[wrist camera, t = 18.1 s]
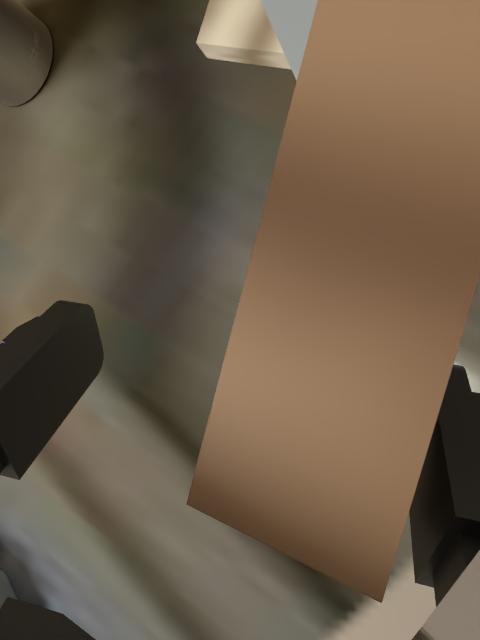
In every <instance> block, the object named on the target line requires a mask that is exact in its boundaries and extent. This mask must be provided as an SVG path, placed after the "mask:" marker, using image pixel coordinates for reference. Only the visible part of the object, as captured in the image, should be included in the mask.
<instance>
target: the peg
mask: <svg viewBox="0 0 480 640" xmlns="http://www.w3.org/2000/svg"><path fill="white" fill-rule="evenodd" d="M479 277H480V0H318V2H317V5H316V9H315V13H314V17H313V21H312V25H311V28H310V32H309V36H308V40H307V44H306V48H305V51H304V55H303V59H302V63H301V67H300V71H299V74H298V78H297V82H296V86H295V90H294V94H293V97H292V101H291V105H290V109H289V113H288V117H287V120H286V124H285V128H284V132H283V136H282V140H281V143H280V147H279V151H278V155H277V159H276V163H275V166H274V170H273V174H272V178H271V182H270V186H269V189H268V193H267V197H266V201H265V205H264V209H263V212H262V216H261V220H260V224H259V228H258V232H257V235H256V239H255V243H254V247H253V251H252V255H251V259H250V262H249V266H248V270H247V274H246V278H245V282H244V285H243V289H242V293H241V297H240V301H239V305H238V308H237V312H236V316H235V320H234V324H233V328H232V331H231V335H230V339H229V343H228V347H227V351H226V354H225V358H224V362H223V366H222V370H221V374H220V377H219V381H218V385H217V389H216V393H215V397H214V400H213V404H212V408H211V412H210V416H209V420H208V423H207V427H206V431H205V435H204V439H203V443H202V446H201V450H200V454H199V458H198V462H197V466H196V469H195V473H194V477H193V481H192V485H191V489H190V492H189V496H188V500H187V505H189V506H191V507H193V508H195V509H197V510H199V511H201V512H203V513H205V514H207V515H209V516H210V517H212V518H214V519H216V520H218V521H220V522H222V523H224V524H226V525H228V526H230V527H232V528H234V529H236V530H238V531H240V532H242V533H244V534H246V535H248V536H250V537H252V538H254V539H256V540H258V541H260V542H262V543H264V544H266V545H268V546H270V547H272V548H274V549H276V550H278V551H280V552H282V553H284V554H286V555H288V556H290V557H291V558H293V559H295V560H297V561H299V562H301V563H303V564H305V565H307V566H309V567H311V568H313V569H315V570H317V571H319V572H321V573H323V574H325V575H327V576H329V577H331V578H333V579H335V580H337V581H339V582H341V583H343V584H345V585H347V586H349V587H351V588H353V589H355V590H357V591H359V592H361V593H363V594H365V595H367V596H369V597H371V598H373V599H374V600H376V601H378V602H381V603H382V600H383V596H384V593H385V590H386V586H387V583H388V580H389V577H390V573H391V570H392V567H393V563H394V560H395V557H396V553H397V550H398V547H399V543H400V540H401V537H402V533H403V530H404V527H405V523H406V520H407V517H408V513H409V510H410V507H411V503H412V500H413V497H414V493H415V490H416V487H417V483H418V480H419V477H420V473H421V470H422V467H423V464H424V460H425V457H426V454H427V450H428V447H429V444H430V440H431V437H432V434H433V430H434V427H435V424H436V420H437V417H438V414H439V410H440V407H441V404H442V400H443V397H444V394H445V390H446V387H447V384H448V380H449V377H450V374H451V370H452V367H453V364H454V360H455V357H456V354H457V351H458V347H459V344H460V341H461V337H462V334H463V331H464V327H465V324H466V321H467V317H468V314H469V311H470V307H471V304H472V301H473V297H474V294H475V291H476V287H477V284H478V281H479Z"/></svg>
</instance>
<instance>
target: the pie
mask: <svg viewBox="0 0 480 640" xmlns="http://www.w3.org/2000/svg"><path fill="white" fill-rule="evenodd" d="M7 597H11V598H14V599H17V598H16V596H15V593H14V591H13V589H12V587H11V584H10V582H9V580H8V578H7V575H6V573H5V572H4V571H3V570H1V569H0V608H1V606H2V605H3V603H4V602H5V600H6V598H7Z"/></svg>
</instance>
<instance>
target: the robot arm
mask: <svg viewBox="0 0 480 640" xmlns="http://www.w3.org/2000/svg"><path fill="white" fill-rule="evenodd" d="M52 54H53V45H52V38H51V35H50V32H49V30H48V28H47V27H46V25H45V24H44V23H43V22H42V21H41V20H39V19H38V18H37V17H36V16H35V15H34V14H32V13H31V12H30V11H29V10H28V9H27V8H25V7H24V6H23V5H22V4H21V3H20V2H18V1H17V0H0V103H1V104H3V105H6V106H18V105H21V104H23V103H25V102H26V101H28V100H30V99H31V98H32V97H33V96H34V95H35V94H36V93H37V92H38V90H39V89H40V88H41V86H42V85H43V83H44V81H45V79H46V77H47V75H48V72H49V69H50V66H51V61H52ZM103 356H104V354H103V347H102V343H101V339H100V335H99V331H98V326H97V322H96V318H95V314H94V310H93V308H92V307H91V306H90V305H88V304H81V303H75V302H69V301H63V300H60V301H57V302H55V303H54V304H53V305H52V306H51V307H50V308H49V309H48V310H47V311H46V312H44V313H43V314H42V315H41V316H40V317H38V316H37V317H35V318H34V319H32V320H30V321H28V322H26V323H24V324H22V325H20V326H18V327H17V328H16V329H14V330H13V331H12V332H11V333H10V334H9V335H8V336H7V337H6V338H4V339H3V340H2V343H1V344H0V475H2V476H6V477H10V478H14V479H18V480H20V479H21V477H22V476H23V475H24V473H25V472H26V471H27V469H28V468H29V467H30V465H31V464H32V462H33V461H34V460H35V458H36V457H37V456H38V454H39V453H40V452H41V450H42V449H43V448H44V446H45V445H46V444H47V442H48V441H49V440H50V438H51V437H52V436H53V434H54V433H55V431H56V430H57V429H58V427H59V426H60V425H61V423H62V422H63V421H64V419H65V418H66V417H67V415H68V414H69V413H70V411H71V410H72V409H73V407H74V406H75V405H76V403H77V402H78V400H79V399H80V398H81V396H82V395H83V394H84V392H85V391H86V390H87V388H88V387H89V386H90V384H91V383H92V382H93V380H94V379H95V378H96V376H97V375H98V373H99V371H100V369H101V367H102V363H103ZM409 513H410V525H411V538H412V550H413V562H414V575H415V583H418V584H422V585H426V586H430V587H434V591H435V600H436V609H435V610H434V611H433V613H432V614H431V615H430V617H429V618H428V620H427V621H426V622H425V623H424V625H423V626H422V627H421V629H420V630H419V631H418V632H417V634H416V635H415V636H414V638H413V639H412V640H480V393H475V392H471V388H470V385H469V381H468V377H467V373H466V370H465V368H464V367H463V366H459V365H453V367H452V370H451V374H450V377H449V380H448V384H447V387H446V390H445V394H444V397H443V400H442V404H441V407H440V410H439V414H438V417H437V420H436V424H435V427H434V430H433V434H432V437H431V440H430V444H429V447H428V450H427V454H426V457H425V460H424V464H423V467H422V470H421V473H420V477H419V480H418V483H417V487H416V490H415V493H414V497H413V500H412V503H411V507H410V510H409ZM0 640H95V639H94V638H93V637H92V636H90V635H89V634H88V633H86V632H85V631H84V630H83V629H81V628H80V627H79V626H78V625H76V624H75V623H74V622H72V621H71V620H70V619H69V618H67V617H66V616H65V615H64V614H61V613H58V612H55V611H52V610H49V609H45V608H42V607H39V606H36V605H33V604H30V603H26V602H23V601H20V600H17V599H14V598H11V597H7V598H6V600H5V602H4V603H3V605H2V606H1V608H0Z"/></svg>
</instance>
